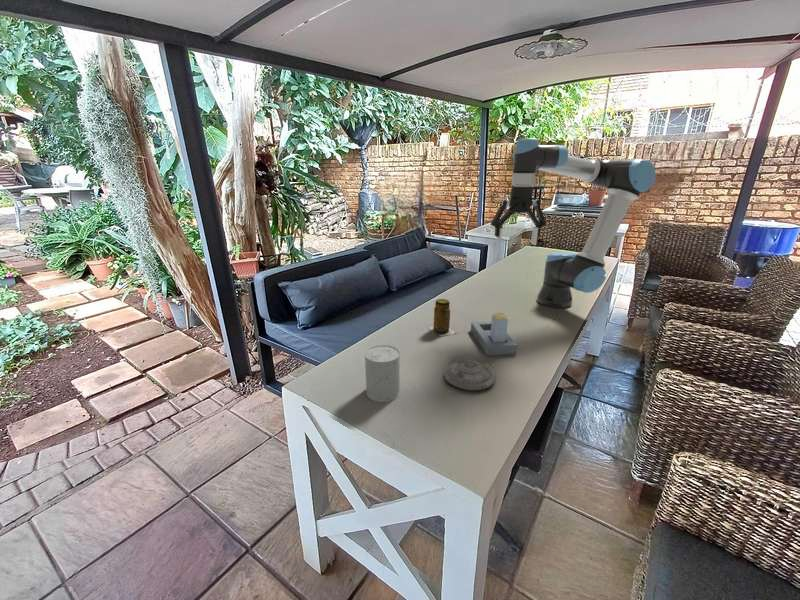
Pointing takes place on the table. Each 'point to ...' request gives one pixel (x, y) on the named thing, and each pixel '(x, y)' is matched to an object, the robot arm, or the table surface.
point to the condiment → (442, 318)
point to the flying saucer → (469, 375)
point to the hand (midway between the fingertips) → (516, 245)
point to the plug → (498, 328)
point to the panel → (483, 337)
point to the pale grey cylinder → (382, 373)
